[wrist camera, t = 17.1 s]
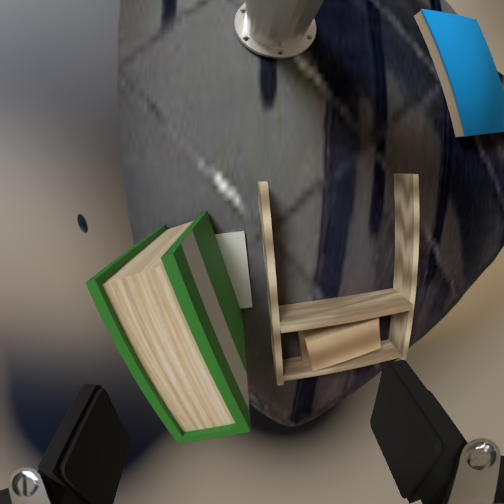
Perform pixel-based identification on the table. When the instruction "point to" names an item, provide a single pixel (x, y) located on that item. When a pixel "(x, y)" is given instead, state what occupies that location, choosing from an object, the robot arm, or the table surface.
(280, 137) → the table surface
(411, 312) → the rack
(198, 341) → the hardback book
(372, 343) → the oak offcut
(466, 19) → the book
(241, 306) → the mat
